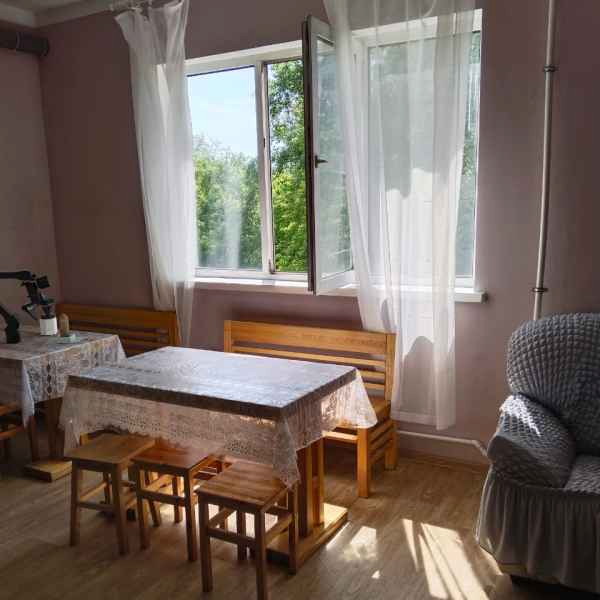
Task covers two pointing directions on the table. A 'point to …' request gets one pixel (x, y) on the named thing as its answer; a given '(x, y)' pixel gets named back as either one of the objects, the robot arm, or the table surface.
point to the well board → (65, 339)
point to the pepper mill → (64, 326)
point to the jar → (48, 324)
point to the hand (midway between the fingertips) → (43, 319)
